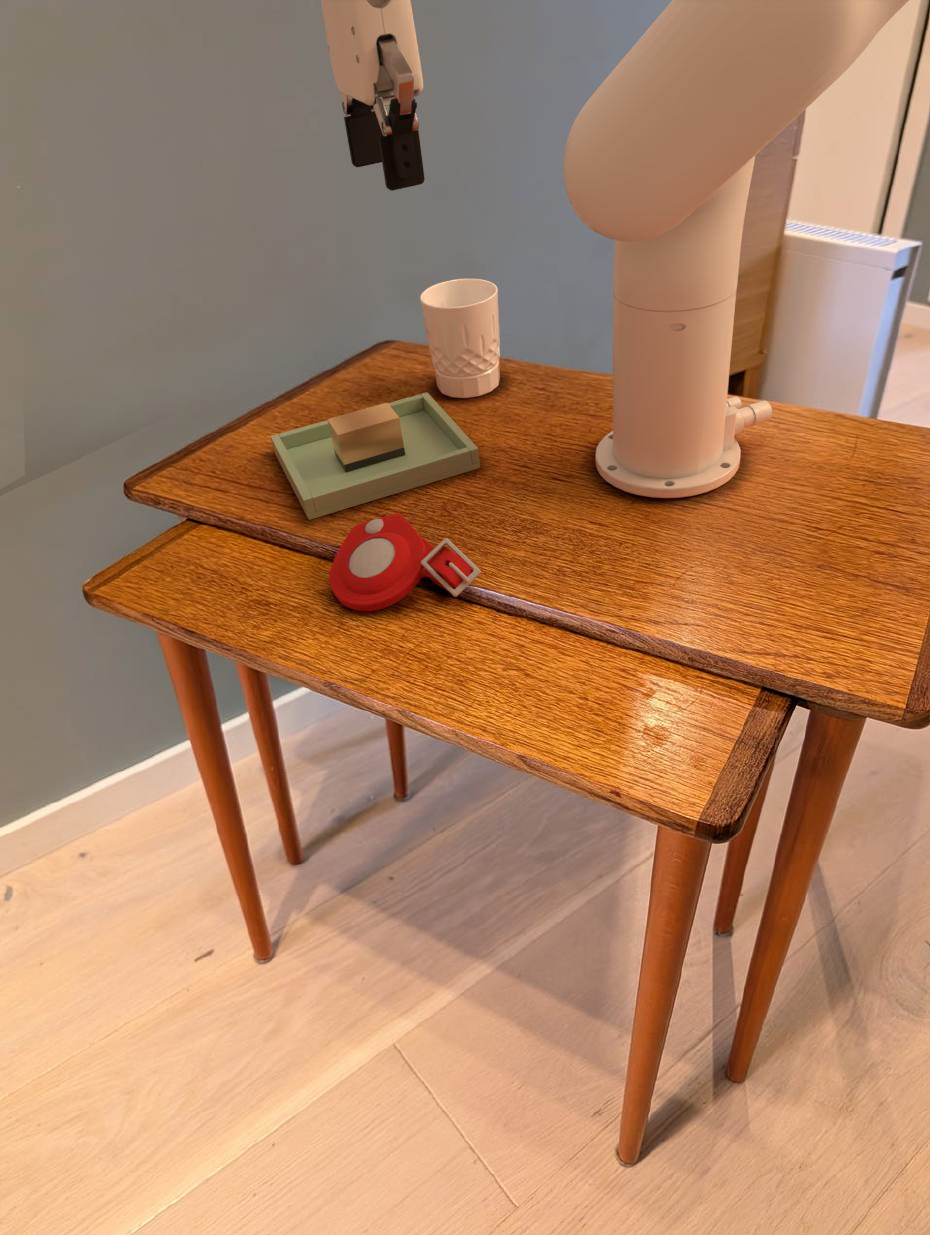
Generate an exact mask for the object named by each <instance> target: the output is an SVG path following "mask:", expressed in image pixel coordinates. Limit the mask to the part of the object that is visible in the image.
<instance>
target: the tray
mask: <svg viewBox="0 0 930 1235" xmlns="http://www.w3.org/2000/svg"><path fill="white" fill-rule="evenodd" d="M387 403H388V404H389V405H390V407H391V408H392V409H393V410H394V412H395V413H396V414H397V415H398V417H399V419H400V425H401V431H402V437H403V443H404V449H405V455H404V456H400V457H397V458H393V459H390V460H387V461H383V462H380V463H376V464H373V465H370V466H366V467H363V468H359V469H356V470H353V471H349V472H345V470H344V469H343V467H342V466H341V464H340V462H339V461H338V459H337V457H336V456H335V451H334V447H333V443H332V438H331V434H330V429H329V425H328V420H323V421H320V422H316V423H312V424H308V425H305V426H301V427H297V428H295V429H291V430H288V431H283V432H281V433H276V434H272V435H270V441H271V444H272V448H273V451H274V454H275V457H276V459H277V461H278V462H279V465H280V466H281V467H280V468H282V471H283V472H284V474H285V477H286V478H287V480H288V482H289V484H290V486H291V488H292V490H293V492H294V494H295V496H296V497H297V500H298V502H299V504H300V506H301V508H302V510H303V512H304V514H305V516H306V518H307V520H308V521H311V520H314V519H317V518H320V517H323V516H327V515H331V514H333V513H337V512H340V511H343V510H346V509H350V508H353V507H357V506H361V505H363V504H366V503H369V502H372V501H377V500H379V499H383V498H386V497H389V496H393V495H396V494H399V493H402V492H405V491H410V490H413V489H416V488H419V487H422V486H425V485H429V484H431V483H435V482H438V481H441V480H445V479H448V478H451V477H454V476H455V477H456V476H458V475H461V474H465V473H468V472H471V471H475V470H478V469H481V460H480V451H479V447H478V446H477V445H476V444H475V443H474V441H473V440H472V439H470V437H469V436H468V435H467V434H466V433H465V432H464V431H463V430H462V429H461V428H460V426H459V425H458V424H457V423H456V422H455V421H454V420H453V419H452V417H450V415H449V414H448V413H447V411H445V410H444V408H443V407H441V405H440V404H439V403H438V402H437V401H436V400H435V399H434V398H433V397H432V396H431V395H430V393H429V392H427V391H426V392H423V393H419V394H415V395H412V396H409V397H404V398H401V399H398V400H394V401H391V402H387Z"/></svg>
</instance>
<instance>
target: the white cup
mask: <svg viewBox="0 0 930 1235" xmlns="http://www.w3.org/2000/svg"><path fill="white" fill-rule="evenodd" d="M419 301H420V306H421V312H422V317H423V322H424V323H423V324H424V327H425V333H426V340H427V344H428V349H429V352H430V358H431V362H432V366H433V369H434V374H435V376H434V377H435V379H436V387H437V389H438V390H439V392H440V393H441V394H442V395H445V396H447V397H450V398H455V399H456V398H457V399H470V398H476V397H481V396H484V395H487V394H489V393H491V392H492V391H494V390H495V389H496V388H498V386H499V384H500V379H501V373H500V372H501V371H500V370H501V369H500V358H501V351H500V348H501V343H500V342H501V340H500V339H501V337H500V335H501V334H500V316H499V315H500V313H499V311H500V310H499V288H498V286H497V285H496V284H495V283H494V282H492V281H489V280H486V279H481V278H457V279H450V280H446V281H442V282H439V283H436V284H433V285H431V286H429V287H427V288H426V289H425V290H423V291H422V292H421V294H420V295H419Z"/></svg>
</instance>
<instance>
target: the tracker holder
mask: <svg viewBox="0 0 930 1235" xmlns="http://www.w3.org/2000/svg"><path fill="white" fill-rule="evenodd" d="M446 546H447V547H449V548H450V549H451V550H450V549H449V548H447V547H446ZM481 573H482V570H481V569H480V568H479V567H478V566H477V565H476V564H475V563H474V562H473V561H472V560H471V559H470V558H469V557H467V555H465V554H464V552H462V551H461V550H460V548H458V547H457V546H456V545H455V544H454V543H453V542H452V541H451V540H450V539H449V538H448V537H445V538H444V539H443V540H441V542H440V543H438V544H437V545H436V546H434V545H432V544H431V543H430V542H429V541H428V540H427V539H426V538H424V537H423V536H422V535H421V534H420V533H418V531H417V530H416V528H414V527H413V526H412V524H411V523H410V522H409V521H408V520H407V519H406V517H405V516H404V515H402V514H401V513H399V512H397V513H392V514H389V515H385V516H381V517H378V518H374V519H371V520H367V521H364V522H361V523H358V524H356V525H354V526H353V527H352V528H351V529H350V531H349V533H348V534H347V536H346V537H345V539H344V541H343V542H342V543H341V545H340V547H339V549H338V551H337V552H336V555H335V557H334V559H333V562H332V564H331V567H330V569H329V573H328V574H329V576H328V582H329V585H330V589H331V590H332V593H333V595H334V596H335V597H336V599H337V600H338V601H339V603H341V604H342V605H344V607H345V608H346V607H347V608H349V609H351V610H354V611H359V612H373V611H374V612H375V611H378V610H383V609H387V608H388V607H390V606H392V605H394V604H396V603H397V602H399V601H401V600H402V599H404V598H405V597H407V595H408V594H410V593H411V592H412V591H413V590H414V589H415V588H416V586H417V585H418V584H419V582H420V580H421V579H422V578H428V579H430V580H431V582H433V583H434V584H435V585H437V586H439V587H440V588H442V589H444V590H445V591H447V592H448V593H450V595H452V596H453V597H454V598H457V597H459V595H460V594H461V593H462V592H464V591H465V589H466V588H467V587H469V585H470V584H471V583H473V581H474V580H476V579H477V578H478V577H479V576H480V575H481Z"/></svg>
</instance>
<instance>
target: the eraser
mask: <svg viewBox="0 0 930 1235" xmlns="http://www.w3.org/2000/svg"><path fill="white" fill-rule="evenodd" d="M388 403H389V402H384V403H380V404H377V405H373V406H369V407H365V408H362V409H358V410H354V411H351V412H347V413H345V414H344V413H343V414H341V415H338V416H333V417H330V418H327V420H328V425H329V429H330V434H331V438H332V443H333V447H334V451H335V456H336V457H337V459H338V461H339V462H340V464H341V466H342V467H343V469H344V470H345V472H349V471H353V470H356V469H359V468H363V467H366V466H370V465H373V464H376V463H380V462H383V461H387V460H390V459H393V458H397V457H400V456H404V455H405V449H404V443H403V437H402V431H401V425H400V419H399V417H398V415H397V414H396V413H395V412H394V410H393V409H392V408H391V407H390V405H389V404H388Z"/></svg>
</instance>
